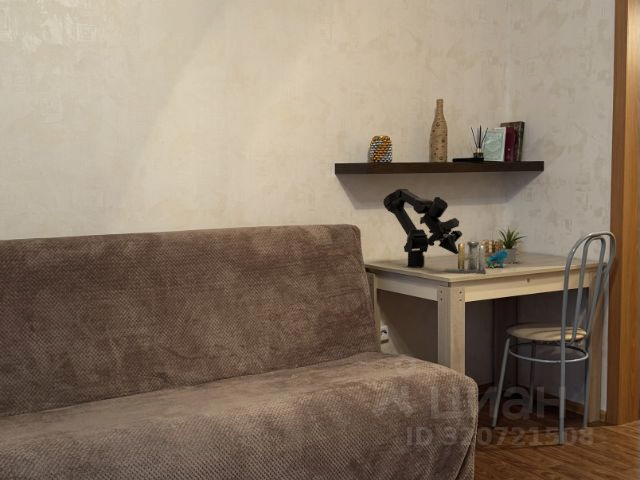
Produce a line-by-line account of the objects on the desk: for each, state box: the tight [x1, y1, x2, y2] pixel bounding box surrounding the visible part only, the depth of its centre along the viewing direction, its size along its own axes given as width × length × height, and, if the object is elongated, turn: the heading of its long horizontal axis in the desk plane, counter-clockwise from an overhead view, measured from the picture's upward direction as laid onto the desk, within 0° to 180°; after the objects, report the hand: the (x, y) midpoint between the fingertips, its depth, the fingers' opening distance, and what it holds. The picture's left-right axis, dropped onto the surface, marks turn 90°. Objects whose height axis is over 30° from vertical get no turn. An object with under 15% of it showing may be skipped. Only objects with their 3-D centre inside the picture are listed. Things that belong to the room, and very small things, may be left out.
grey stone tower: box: [466, 241, 486, 271], centre depth 320 cm, size 5×18×11 cm, turn 8°
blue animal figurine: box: [485, 249, 508, 269], centre depth 331 cm, size 11×6×10 cm
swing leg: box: [457, 243, 473, 269], centre depth 319 cm, size 13×3×10 cm, turn 150°
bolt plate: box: [443, 267, 487, 275], centre depth 315 cm, size 16×6×1 cm, turn 76°
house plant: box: [496, 225, 528, 264], centre depth 348 cm, size 14×14×16 cm
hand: (457, 253), depth 314 cm, fingers closed
